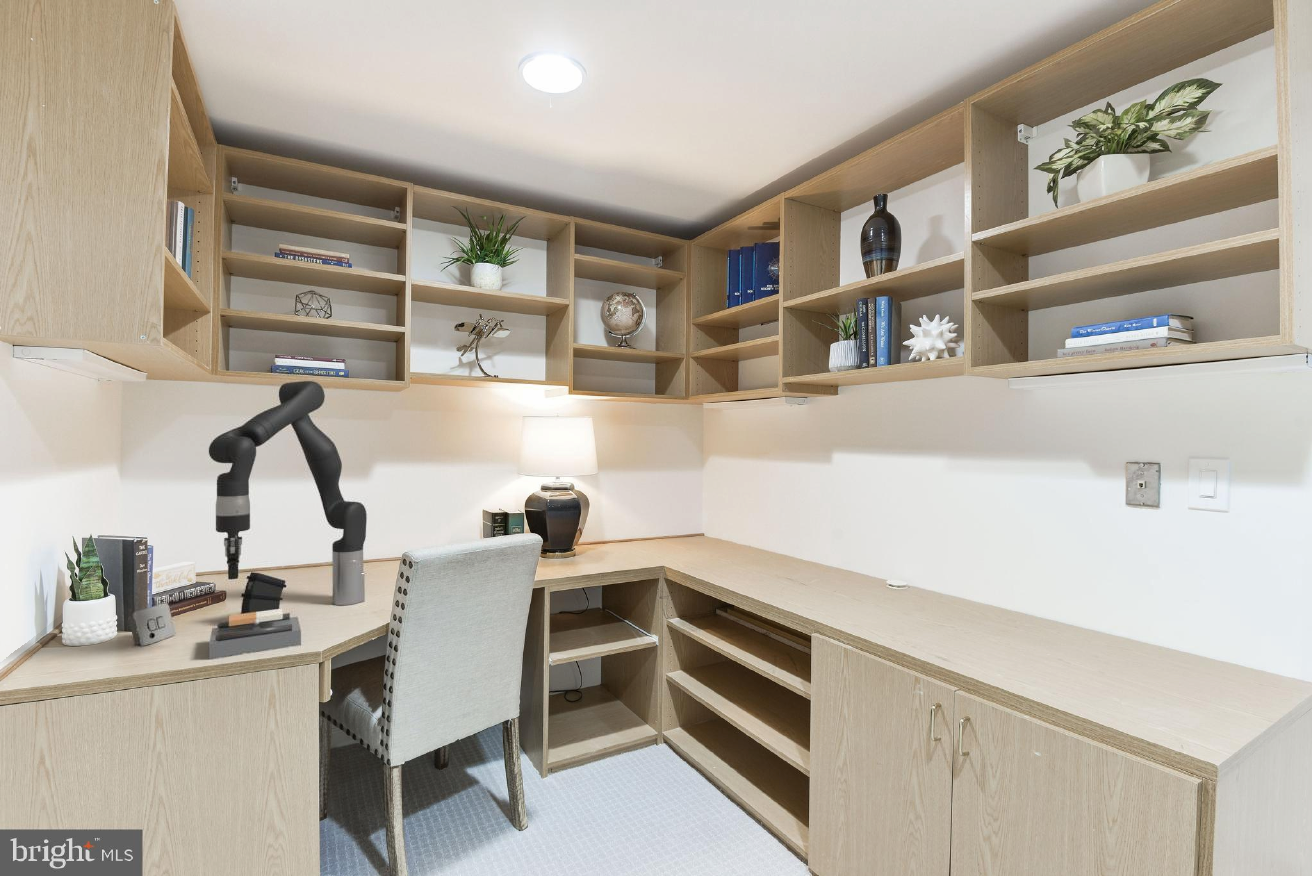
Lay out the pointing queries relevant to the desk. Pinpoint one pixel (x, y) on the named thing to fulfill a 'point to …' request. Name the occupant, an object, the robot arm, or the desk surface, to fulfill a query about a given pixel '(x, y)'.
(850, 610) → the desk surface
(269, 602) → the magazine
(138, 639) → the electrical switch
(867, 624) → the desk surface
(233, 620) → the breaker rocker
